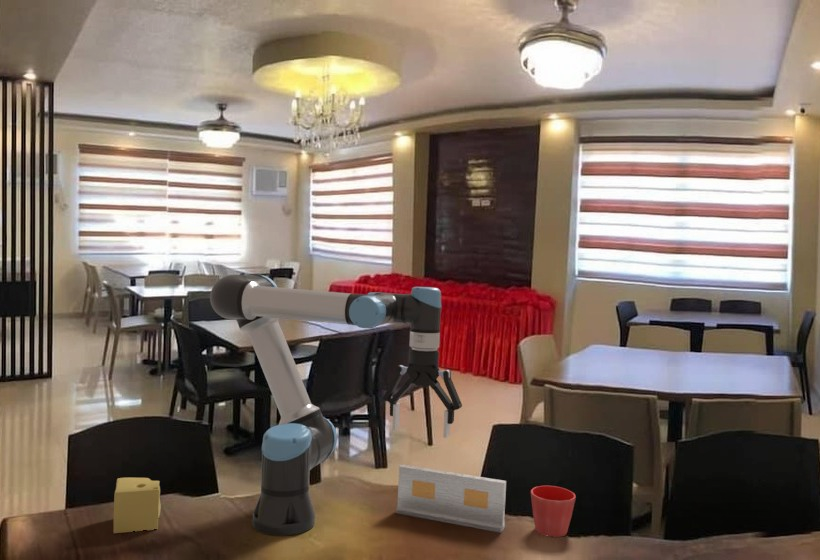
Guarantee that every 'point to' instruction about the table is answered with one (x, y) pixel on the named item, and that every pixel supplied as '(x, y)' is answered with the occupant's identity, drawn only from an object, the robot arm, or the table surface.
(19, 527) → the table surface
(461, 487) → the label panel
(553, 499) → the flower pot
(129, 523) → the cheese
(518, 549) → the table surface
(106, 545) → the table surface
